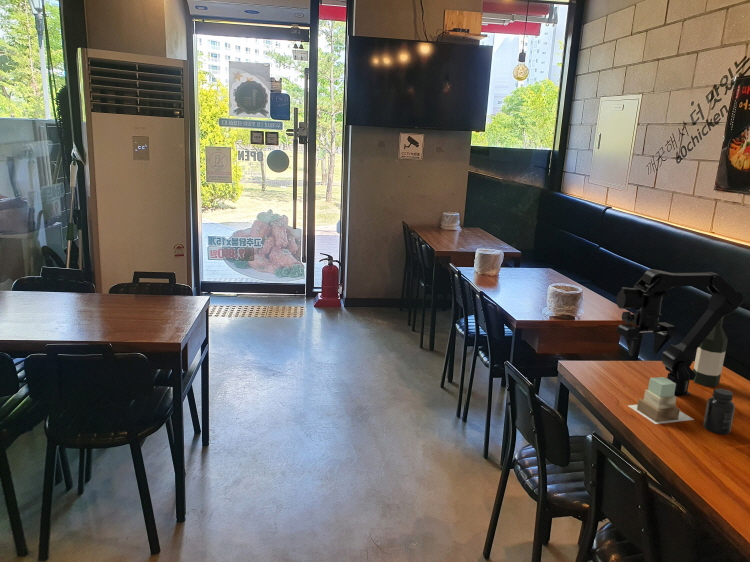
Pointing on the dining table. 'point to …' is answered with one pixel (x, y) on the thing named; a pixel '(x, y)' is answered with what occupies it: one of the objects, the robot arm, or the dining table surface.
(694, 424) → the dining table surface
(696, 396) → the dining table surface
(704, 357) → the wine bottle
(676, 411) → the walnut slab
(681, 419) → the grey mat
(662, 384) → the sage block
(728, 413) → the supplement bottle
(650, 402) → the birch block
